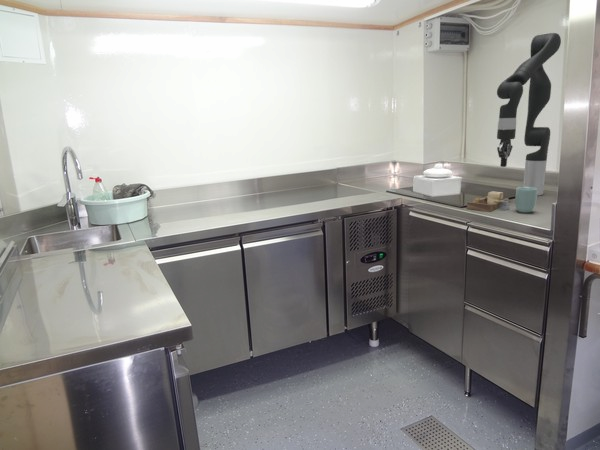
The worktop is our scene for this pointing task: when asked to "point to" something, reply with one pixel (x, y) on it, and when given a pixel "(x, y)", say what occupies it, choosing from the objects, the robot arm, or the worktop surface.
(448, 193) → the butter dish
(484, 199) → the beam rails
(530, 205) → the cup
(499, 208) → the block
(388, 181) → the worktop surface
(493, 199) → the block
